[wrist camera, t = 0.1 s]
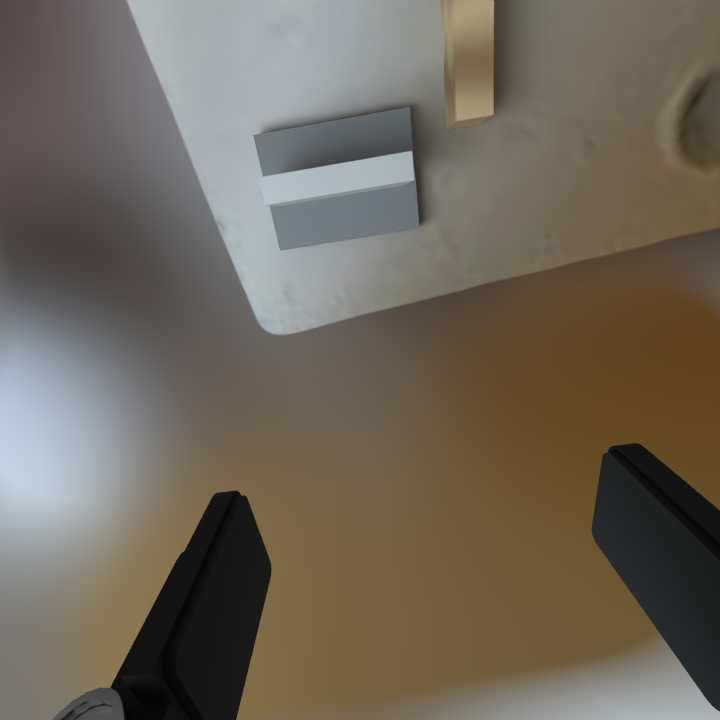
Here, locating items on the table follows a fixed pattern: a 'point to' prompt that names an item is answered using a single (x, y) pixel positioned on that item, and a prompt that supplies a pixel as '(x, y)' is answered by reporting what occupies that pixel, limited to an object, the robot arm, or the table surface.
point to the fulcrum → (340, 179)
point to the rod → (468, 61)
